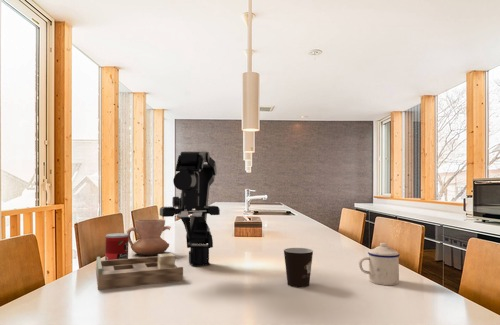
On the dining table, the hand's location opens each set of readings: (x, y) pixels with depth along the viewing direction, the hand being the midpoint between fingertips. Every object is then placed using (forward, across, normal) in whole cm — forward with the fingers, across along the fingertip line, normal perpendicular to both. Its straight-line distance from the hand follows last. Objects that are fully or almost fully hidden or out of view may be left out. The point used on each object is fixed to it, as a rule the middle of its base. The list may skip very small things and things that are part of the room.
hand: (189, 237), depth 120 cm
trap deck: (+12, +16, -4) cm, 20 cm away
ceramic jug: (+12, +7, -41) cm, 44 cm away
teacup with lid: (+12, -52, +30) cm, 61 cm away
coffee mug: (+12, -28, +23) cm, 39 cm away
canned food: (+12, +20, -24) cm, 34 cm away
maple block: (+10, +8, 0) cm, 12 cm away
